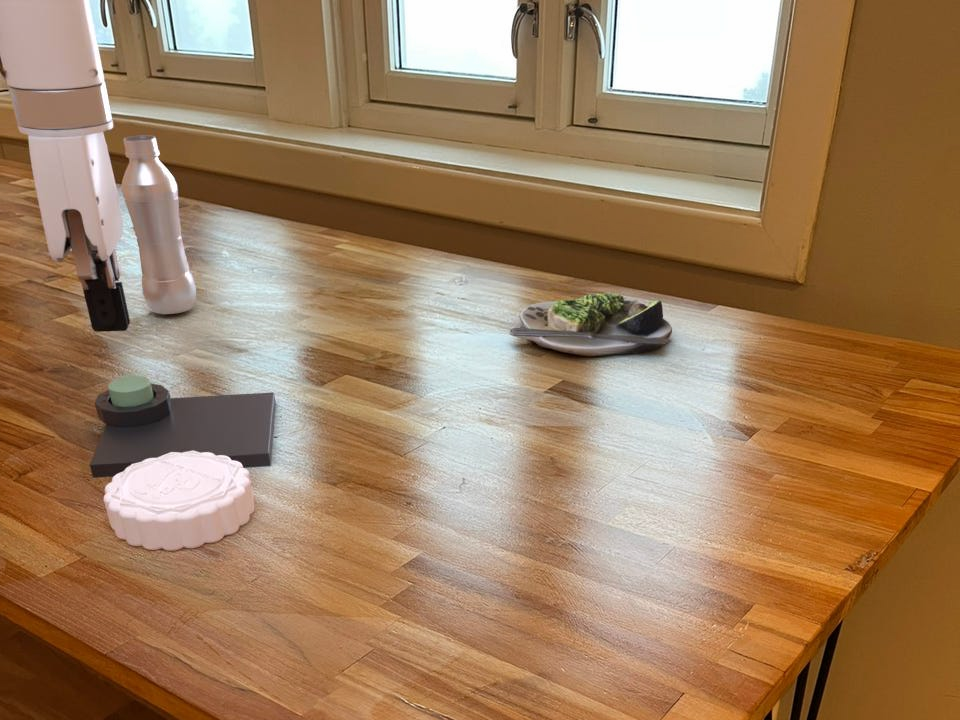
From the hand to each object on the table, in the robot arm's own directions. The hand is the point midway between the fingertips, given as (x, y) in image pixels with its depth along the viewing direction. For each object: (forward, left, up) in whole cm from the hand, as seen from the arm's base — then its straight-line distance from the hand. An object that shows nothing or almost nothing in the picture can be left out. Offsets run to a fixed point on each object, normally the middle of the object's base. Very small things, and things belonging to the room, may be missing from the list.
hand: (112, 327), depth 91 cm
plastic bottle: (0, +34, -10) cm, 35 cm away
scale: (+6, -4, -10) cm, 12 cm away
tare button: (0, 0, -7) cm, 7 cm away
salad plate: (+52, +18, -10) cm, 56 cm away
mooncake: (+7, -19, -10) cm, 23 cm away
